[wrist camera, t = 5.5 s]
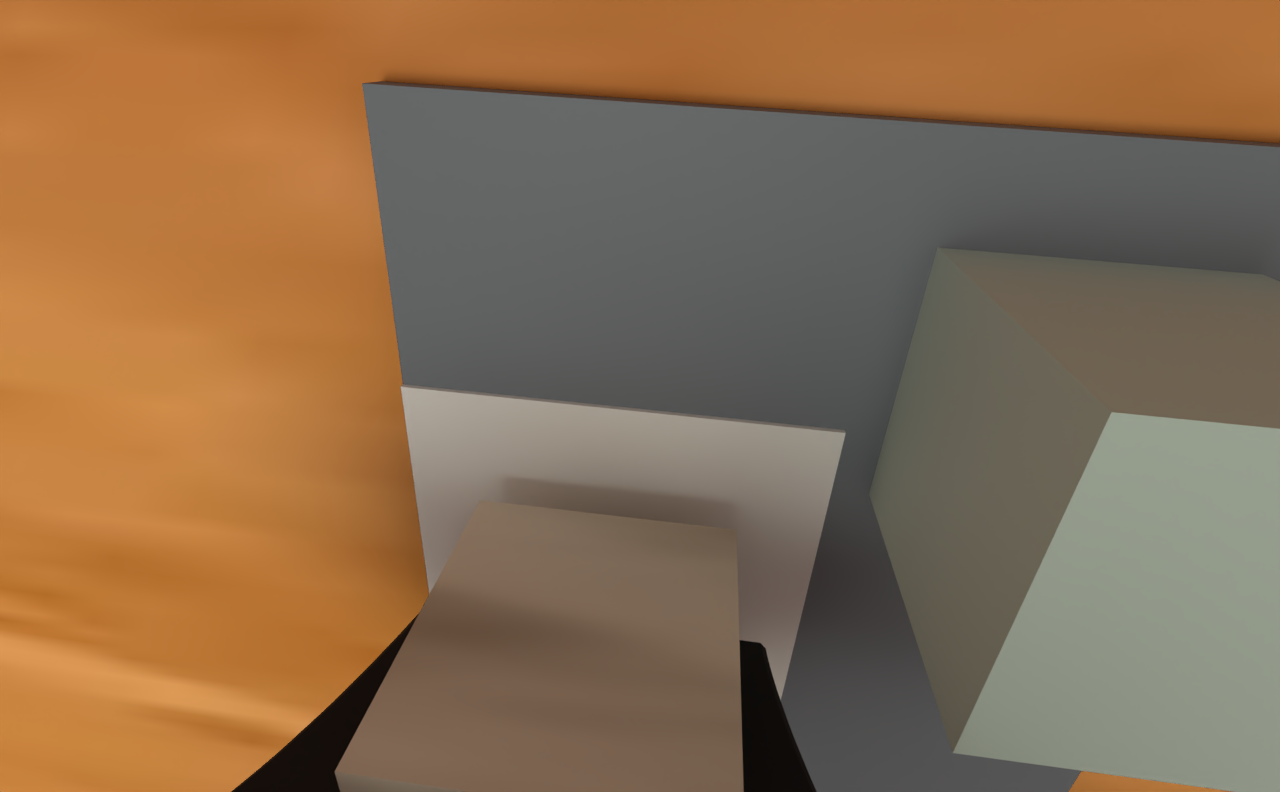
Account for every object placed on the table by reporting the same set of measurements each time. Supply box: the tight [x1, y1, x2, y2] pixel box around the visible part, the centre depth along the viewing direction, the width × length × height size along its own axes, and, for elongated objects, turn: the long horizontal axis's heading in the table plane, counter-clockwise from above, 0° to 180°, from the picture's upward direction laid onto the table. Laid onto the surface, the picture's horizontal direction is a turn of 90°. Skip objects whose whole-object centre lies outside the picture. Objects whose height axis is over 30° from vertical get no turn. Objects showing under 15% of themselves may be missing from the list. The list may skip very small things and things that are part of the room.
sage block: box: [869, 247, 1280, 792], centre depth 9 cm, size 5×5×5 cm
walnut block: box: [335, 500, 744, 792], centre depth 10 cm, size 5×5×5 cm
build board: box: [362, 81, 1280, 792], centre depth 14 cm, size 18×15×1 cm
